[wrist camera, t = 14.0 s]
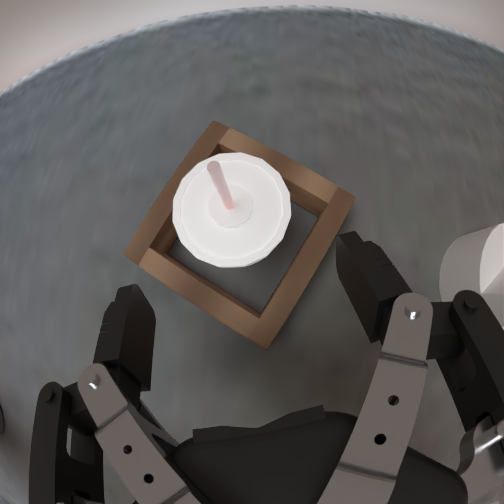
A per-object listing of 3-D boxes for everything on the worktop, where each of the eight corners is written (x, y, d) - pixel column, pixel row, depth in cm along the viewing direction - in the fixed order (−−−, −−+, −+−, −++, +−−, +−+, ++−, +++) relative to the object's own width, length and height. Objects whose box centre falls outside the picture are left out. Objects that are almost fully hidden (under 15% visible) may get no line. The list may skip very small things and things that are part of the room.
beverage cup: (295, 225, 24) (334, 142, 10) (255, 290, 23) (240, 293, 9) (232, 187, 24) (196, 77, 10) (191, 249, 24) (102, 199, 10)
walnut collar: (144, 259, 24) (123, 254, 20) (220, 143, 25) (213, 120, 21) (266, 339, 23) (266, 349, 19) (342, 211, 23) (356, 197, 20)
